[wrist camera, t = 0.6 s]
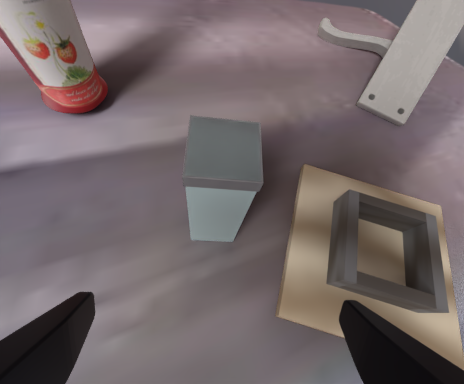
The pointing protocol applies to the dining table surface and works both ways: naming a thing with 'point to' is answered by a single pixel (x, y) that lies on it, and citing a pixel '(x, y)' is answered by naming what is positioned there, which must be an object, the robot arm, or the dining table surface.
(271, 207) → the dining table surface
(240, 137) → the rail end post
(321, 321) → the post socket
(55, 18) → the liquor
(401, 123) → the door handle
